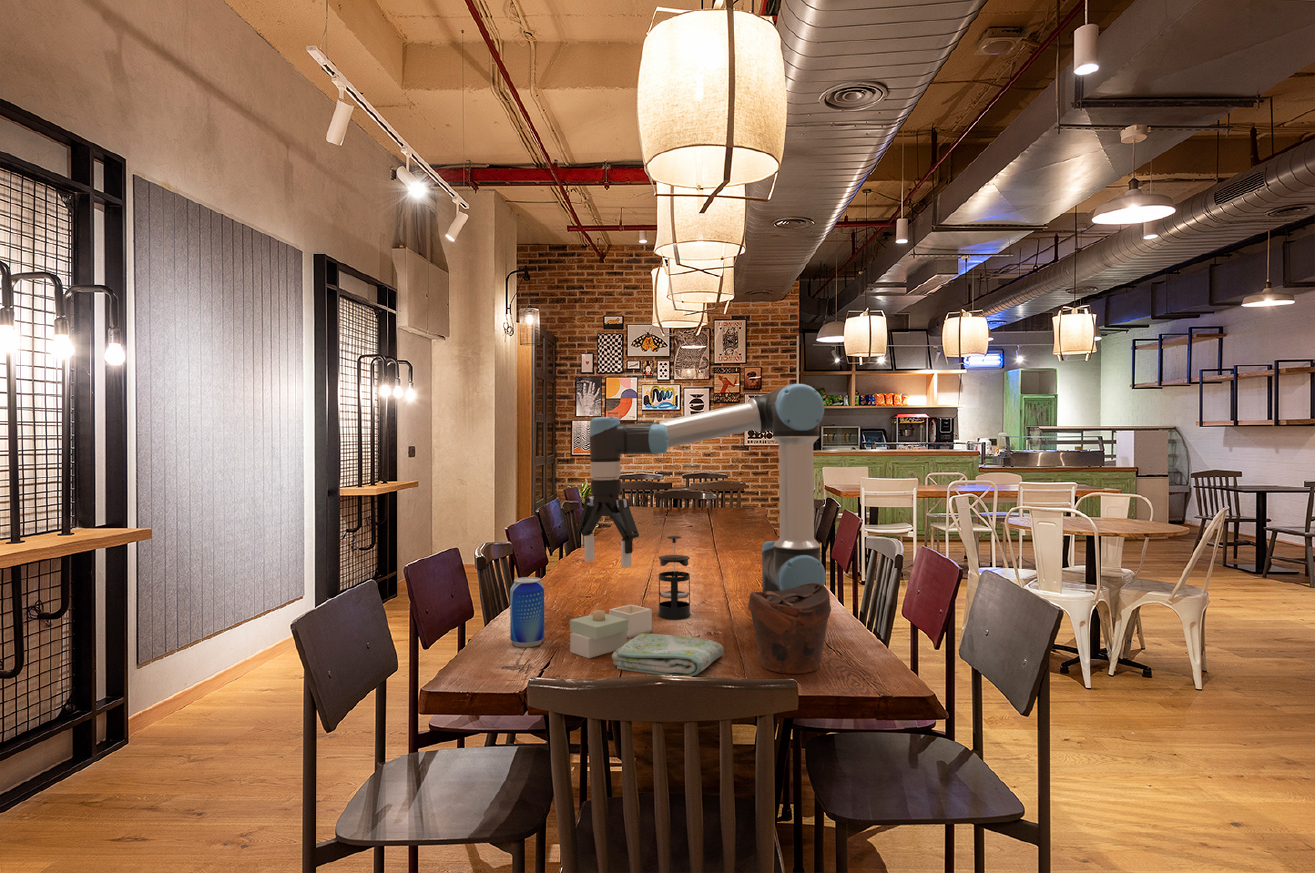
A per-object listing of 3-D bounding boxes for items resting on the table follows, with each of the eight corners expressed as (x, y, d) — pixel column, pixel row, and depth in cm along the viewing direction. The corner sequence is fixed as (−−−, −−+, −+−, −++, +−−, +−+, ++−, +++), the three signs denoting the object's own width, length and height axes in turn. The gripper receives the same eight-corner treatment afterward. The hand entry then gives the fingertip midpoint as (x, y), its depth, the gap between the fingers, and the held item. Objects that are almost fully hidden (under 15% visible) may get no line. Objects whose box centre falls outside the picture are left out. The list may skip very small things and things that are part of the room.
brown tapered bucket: (731, 670, 157) (732, 588, 157) (770, 648, 173) (771, 574, 173) (808, 687, 147) (810, 600, 147) (841, 662, 163) (842, 584, 163)
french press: (690, 620, 200) (690, 538, 200) (657, 620, 200) (656, 538, 200) (690, 610, 212) (690, 533, 212) (659, 610, 212) (658, 533, 212)
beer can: (540, 637, 184) (540, 575, 184) (547, 646, 176) (547, 581, 176) (507, 640, 181) (507, 577, 181) (513, 649, 173) (513, 583, 173)
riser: (626, 647, 174) (626, 629, 174) (588, 658, 166) (588, 638, 166) (608, 641, 179) (608, 623, 179) (570, 651, 171) (570, 633, 171)
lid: (628, 630, 173) (627, 611, 173) (596, 639, 166) (596, 618, 166) (601, 623, 180) (601, 604, 180) (569, 631, 173) (569, 611, 173)
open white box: (651, 631, 188) (651, 609, 188) (629, 638, 183) (629, 614, 183) (631, 626, 194) (631, 604, 194) (609, 632, 188) (609, 609, 188)
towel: (642, 648, 175) (642, 627, 175) (725, 657, 167) (724, 636, 167) (609, 670, 159) (609, 647, 159) (699, 682, 150) (699, 658, 150)
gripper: (652, 479, 172) (653, 566, 172) (584, 476, 189) (586, 556, 189) (629, 480, 167) (631, 571, 166) (562, 478, 184) (564, 560, 184)
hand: (607, 563), depth 178 cm, fingers open, 13 cm apart
